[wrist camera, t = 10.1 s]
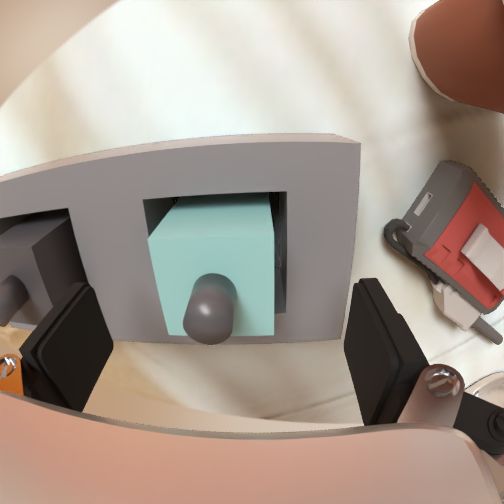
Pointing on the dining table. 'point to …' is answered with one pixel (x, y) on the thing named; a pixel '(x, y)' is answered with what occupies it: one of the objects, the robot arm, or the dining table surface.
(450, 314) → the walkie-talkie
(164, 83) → the dining table surface
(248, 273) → the plug
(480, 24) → the coffee cup
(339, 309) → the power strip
